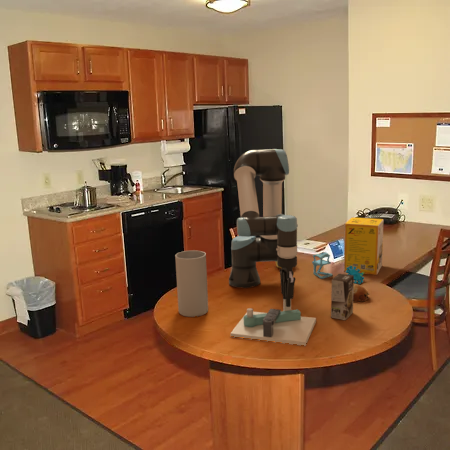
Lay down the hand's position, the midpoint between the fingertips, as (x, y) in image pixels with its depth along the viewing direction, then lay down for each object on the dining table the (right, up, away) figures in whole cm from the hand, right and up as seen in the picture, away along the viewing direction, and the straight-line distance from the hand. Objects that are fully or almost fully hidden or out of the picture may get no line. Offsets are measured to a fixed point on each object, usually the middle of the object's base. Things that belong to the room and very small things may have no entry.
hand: (287, 313), depth 201 cm
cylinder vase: (-38, -2, +14) cm, 40 cm away
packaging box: (+47, +12, +62) cm, 79 cm away
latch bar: (-6, -3, -3) cm, 8 cm away
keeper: (-7, -5, -10) cm, 13 cm away
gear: (+38, +7, +43) cm, 57 cm away
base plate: (-6, -5, -6) cm, 10 cm away
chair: (+24, +9, +54) cm, 60 cm away
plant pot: (+6, +13, +71) cm, 72 cm away
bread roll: (+33, +2, +23) cm, 40 cm away
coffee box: (+23, -2, +5) cm, 23 cm away
